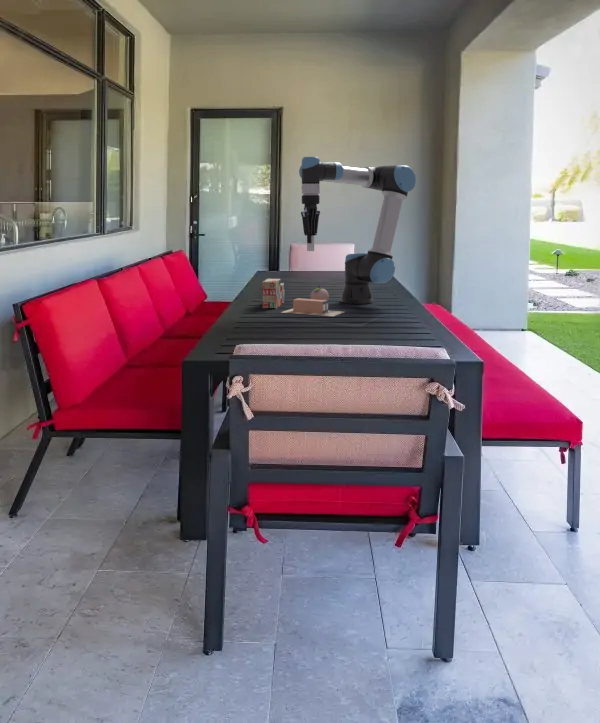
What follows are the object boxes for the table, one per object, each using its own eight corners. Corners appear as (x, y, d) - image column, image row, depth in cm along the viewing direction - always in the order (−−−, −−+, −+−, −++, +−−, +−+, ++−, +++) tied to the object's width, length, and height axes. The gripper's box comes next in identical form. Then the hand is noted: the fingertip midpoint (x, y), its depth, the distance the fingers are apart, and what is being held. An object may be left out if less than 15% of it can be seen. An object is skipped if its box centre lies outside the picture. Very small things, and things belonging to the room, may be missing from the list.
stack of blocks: (271, 302, 362) (271, 276, 359) (284, 302, 361) (284, 276, 358) (262, 308, 341) (262, 281, 339) (275, 309, 340) (276, 281, 338)
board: (345, 314, 327) (345, 311, 327) (333, 318, 315) (333, 316, 314) (294, 310, 336) (294, 308, 336) (280, 314, 324) (280, 312, 324)
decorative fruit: (326, 309, 339) (327, 287, 337) (308, 309, 340) (308, 286, 338) (330, 306, 348) (330, 284, 346) (312, 306, 349) (312, 284, 347)
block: (328, 300, 325) (298, 298, 330) (323, 301, 320) (293, 299, 326) (327, 311, 326) (297, 309, 331) (323, 313, 322) (293, 311, 327)
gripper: (310, 194, 329) (310, 249, 335) (295, 194, 318) (295, 251, 324) (325, 194, 326) (325, 250, 331) (311, 194, 315) (311, 252, 320)
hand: (310, 250), depth 327 cm, fingers closed
